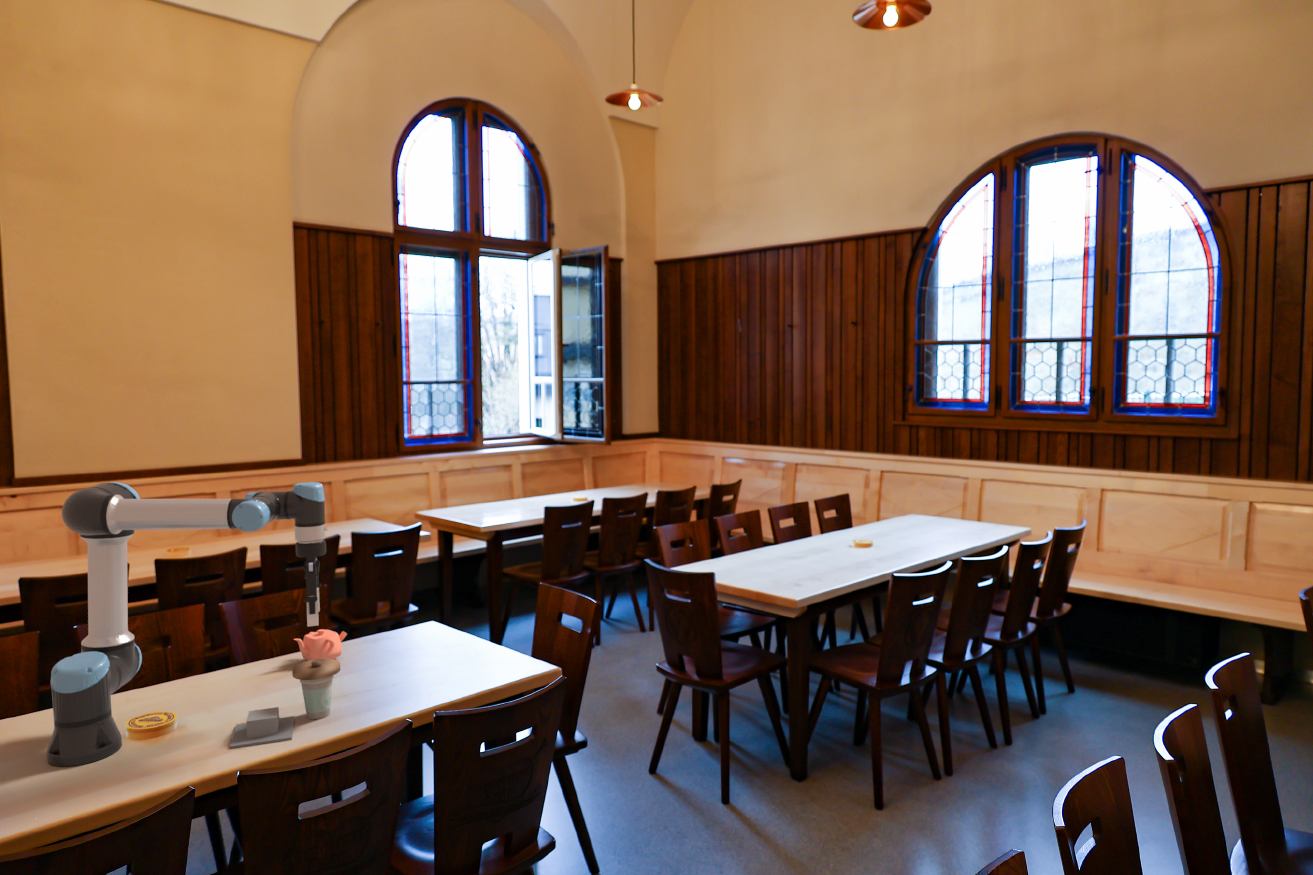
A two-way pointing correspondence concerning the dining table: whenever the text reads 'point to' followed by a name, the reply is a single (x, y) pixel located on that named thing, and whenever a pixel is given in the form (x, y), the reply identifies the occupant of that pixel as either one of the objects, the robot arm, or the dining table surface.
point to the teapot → (321, 644)
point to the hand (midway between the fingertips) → (313, 618)
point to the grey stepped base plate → (262, 728)
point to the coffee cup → (317, 697)
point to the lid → (316, 669)
